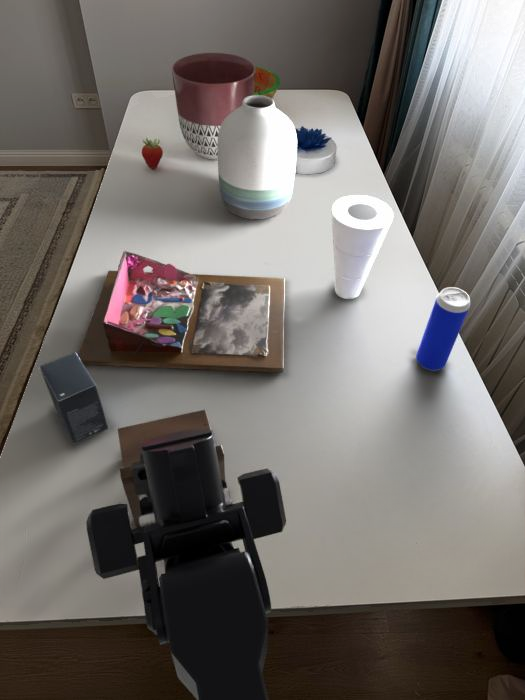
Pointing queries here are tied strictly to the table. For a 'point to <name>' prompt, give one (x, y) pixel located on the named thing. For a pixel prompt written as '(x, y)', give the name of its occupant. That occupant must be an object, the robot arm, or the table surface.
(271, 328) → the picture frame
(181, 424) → the brown legged wooden frame
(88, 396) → the box
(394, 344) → the table surface
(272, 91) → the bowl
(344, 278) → the stacked toilet paper rolls
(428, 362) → the beverage can
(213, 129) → the planter
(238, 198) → the vase
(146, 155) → the fruit
